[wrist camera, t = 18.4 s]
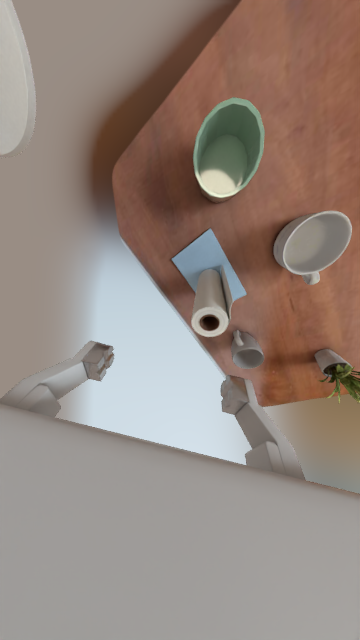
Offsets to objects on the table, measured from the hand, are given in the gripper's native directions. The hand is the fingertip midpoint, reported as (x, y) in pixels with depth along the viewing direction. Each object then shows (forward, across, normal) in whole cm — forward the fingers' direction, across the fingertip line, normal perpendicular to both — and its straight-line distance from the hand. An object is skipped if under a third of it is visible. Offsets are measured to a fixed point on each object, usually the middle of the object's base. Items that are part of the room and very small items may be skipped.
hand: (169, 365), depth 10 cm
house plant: (+35, -51, +20) cm, 65 cm away
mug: (+35, -21, +21) cm, 46 cm away
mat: (+35, -5, +4) cm, 36 cm away
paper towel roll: (+35, -6, +5) cm, 36 cm away
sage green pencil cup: (+36, -1, -17) cm, 39 cm away
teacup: (+35, -22, -7) cm, 42 cm away
